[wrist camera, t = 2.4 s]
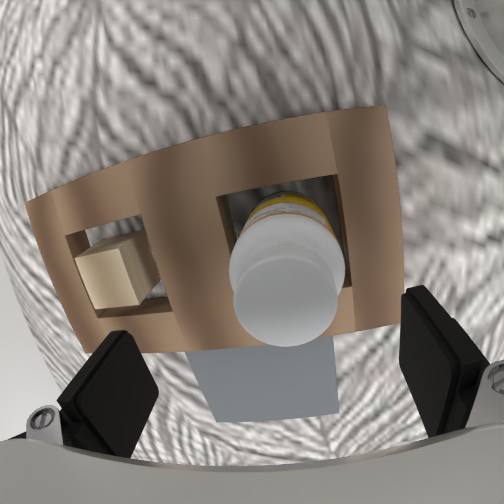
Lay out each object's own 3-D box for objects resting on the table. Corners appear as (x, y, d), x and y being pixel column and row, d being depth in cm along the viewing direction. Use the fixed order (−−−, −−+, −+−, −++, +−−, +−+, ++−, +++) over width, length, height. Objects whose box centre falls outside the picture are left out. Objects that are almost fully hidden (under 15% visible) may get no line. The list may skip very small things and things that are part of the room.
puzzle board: (373, 108, 17) (385, 105, 15) (393, 304, 21) (403, 322, 19) (44, 195, 22) (24, 202, 19) (98, 337, 26) (85, 353, 24)
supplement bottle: (310, 278, 22) (321, 374, 12) (237, 253, 21) (200, 337, 12) (340, 207, 20) (381, 266, 10) (261, 178, 19) (237, 215, 10)
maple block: (145, 229, 22) (118, 248, 18) (161, 278, 23) (139, 304, 19) (103, 239, 22) (74, 258, 19) (119, 284, 24) (95, 309, 20)
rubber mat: (331, 326, 23) (331, 330, 22) (338, 409, 26) (338, 413, 25) (184, 343, 25) (182, 346, 24) (217, 418, 28) (216, 422, 28)
